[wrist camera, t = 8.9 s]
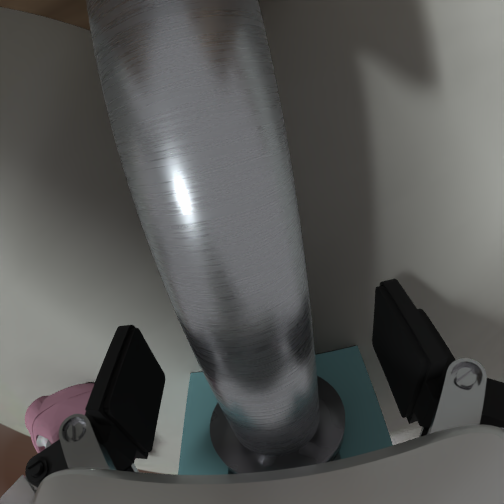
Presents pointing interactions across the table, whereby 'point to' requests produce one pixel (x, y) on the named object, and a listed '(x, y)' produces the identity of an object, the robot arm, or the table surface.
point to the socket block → (328, 368)
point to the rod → (221, 216)
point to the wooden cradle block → (54, 10)
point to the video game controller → (55, 413)
